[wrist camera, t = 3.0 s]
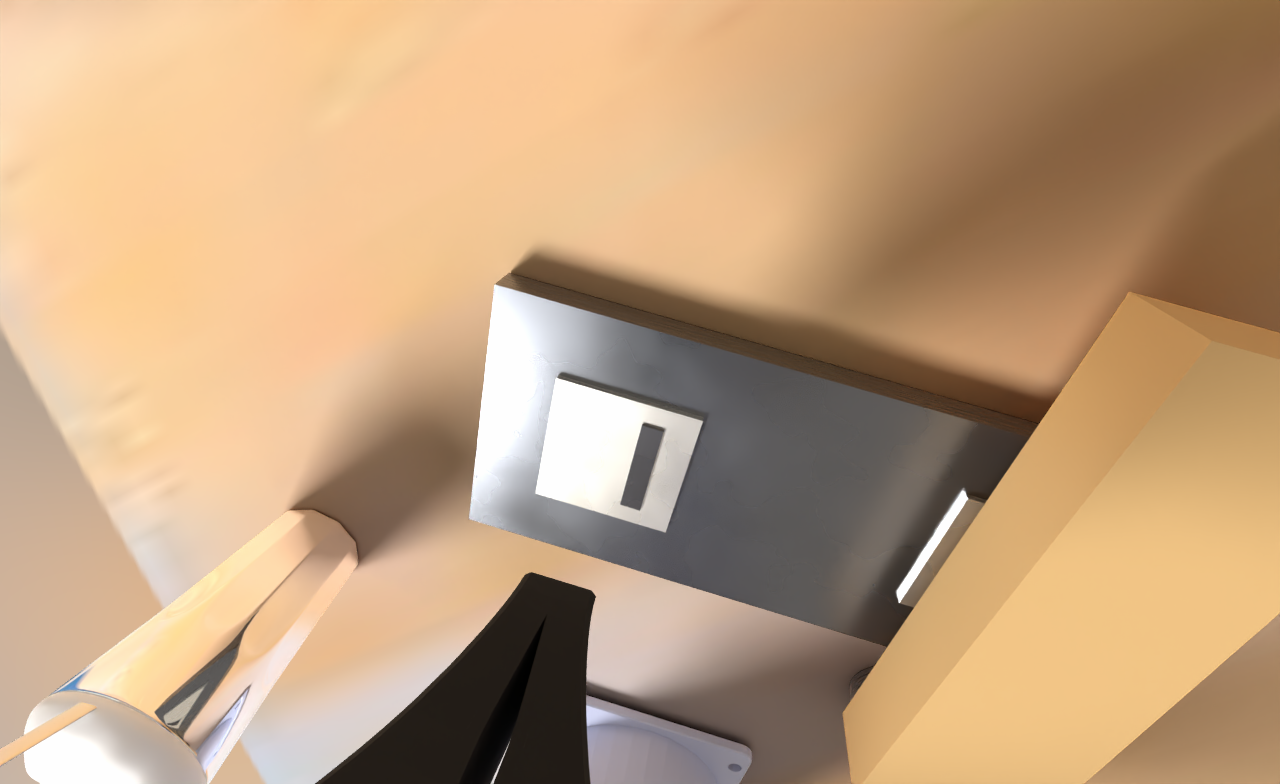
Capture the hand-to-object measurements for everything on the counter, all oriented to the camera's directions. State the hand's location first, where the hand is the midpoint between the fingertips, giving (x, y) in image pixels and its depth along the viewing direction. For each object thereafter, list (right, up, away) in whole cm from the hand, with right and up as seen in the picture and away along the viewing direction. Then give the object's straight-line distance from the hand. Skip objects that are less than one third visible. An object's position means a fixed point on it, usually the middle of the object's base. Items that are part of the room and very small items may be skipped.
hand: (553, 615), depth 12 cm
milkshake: (-10, -1, +10) cm, 15 cm away
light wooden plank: (+11, -1, +4) cm, 12 cm away
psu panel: (+7, +1, +6) cm, 9 cm away
